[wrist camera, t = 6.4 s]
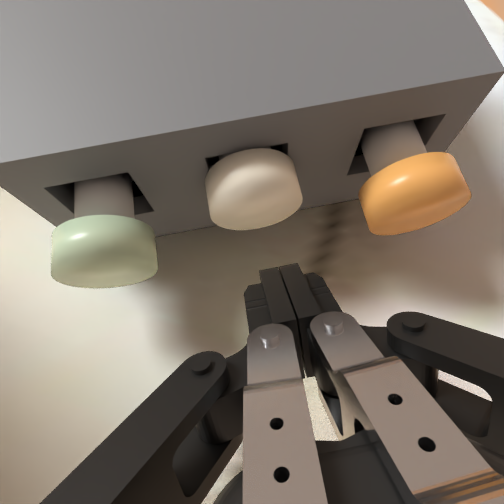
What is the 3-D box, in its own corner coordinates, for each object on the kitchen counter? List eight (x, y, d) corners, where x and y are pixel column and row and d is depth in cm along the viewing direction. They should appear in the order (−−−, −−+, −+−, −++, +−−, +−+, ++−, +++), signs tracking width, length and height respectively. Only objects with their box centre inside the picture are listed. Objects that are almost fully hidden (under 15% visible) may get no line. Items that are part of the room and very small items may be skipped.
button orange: (359, 241, 16) (385, 199, 13) (331, 155, 18) (348, 95, 14) (442, 225, 16) (493, 179, 13) (407, 141, 18) (443, 78, 14)
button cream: (217, 236, 17) (201, 194, 13) (203, 152, 18) (186, 94, 15) (298, 220, 17) (306, 174, 13) (278, 139, 19) (280, 77, 15)
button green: (83, 293, 16) (27, 266, 12) (82, 201, 18) (32, 153, 14) (169, 277, 16) (138, 246, 12) (159, 187, 18) (130, 135, 14)
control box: (87, 249, 20) (-26, 167, 12) (85, 111, 23) (-4, -19, 16) (417, 187, 20) (505, 70, 12) (365, 60, 23) (410, -91, 16)
